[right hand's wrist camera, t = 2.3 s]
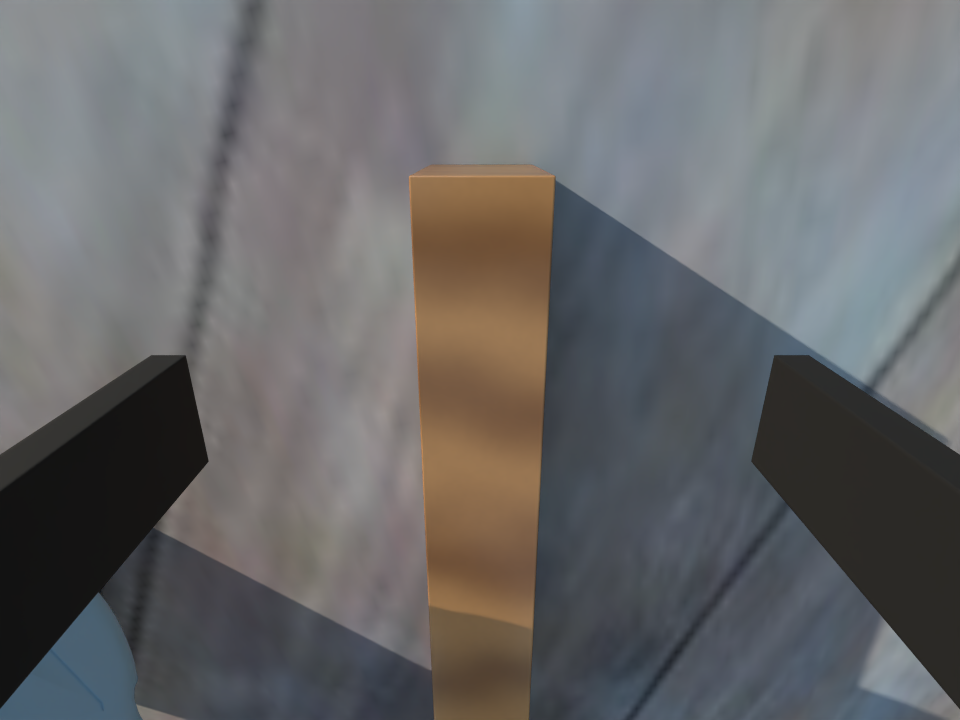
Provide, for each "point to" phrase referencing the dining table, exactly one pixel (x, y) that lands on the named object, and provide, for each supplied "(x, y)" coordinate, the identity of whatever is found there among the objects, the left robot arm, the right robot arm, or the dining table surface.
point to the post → (481, 423)
